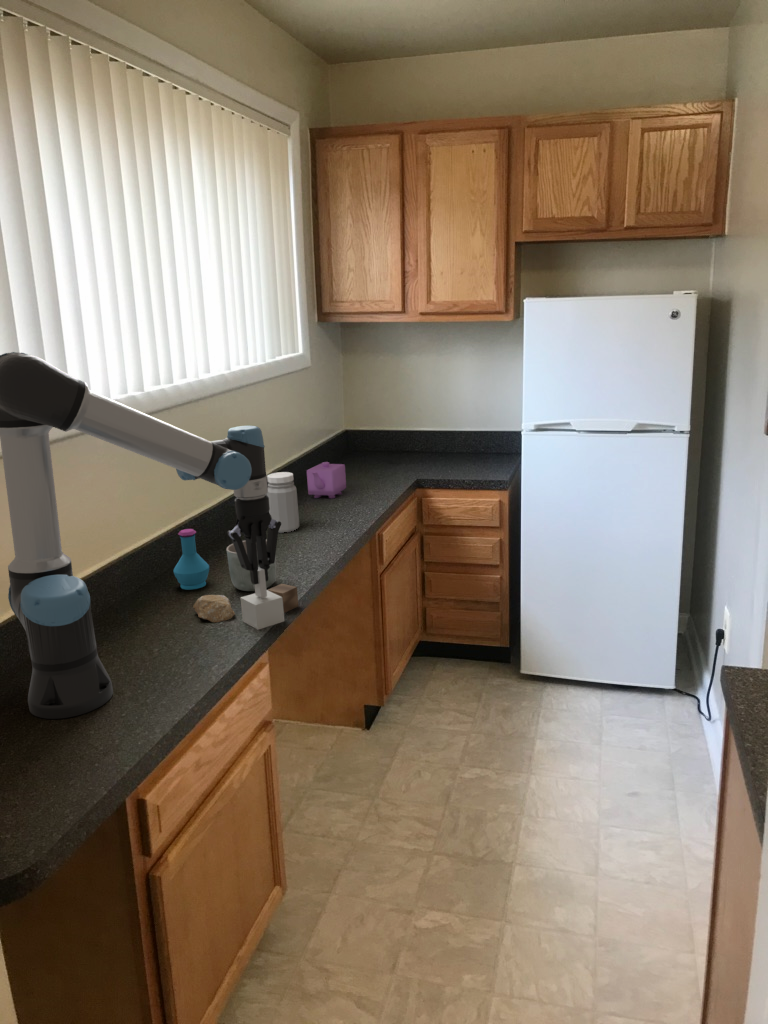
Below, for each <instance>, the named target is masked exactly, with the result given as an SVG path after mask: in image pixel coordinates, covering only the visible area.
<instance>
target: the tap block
mask: <svg viewBox="0 0 768 1024" xmlns="http://www.w3.org/2000/svg"><path fill="white" fill-rule="evenodd" d="M266 590H267V597H264V598H260V597H258V596H256V595H255V592H254V593H251V594H248V595H244V596H241V597H240V599H239V600H240V607H241V616H242V617H241V618H242V622H243V623H245V624H246V625H249V626H250V627H252V628H254V629H256V630H262V629H264V628H268V627H271V626H274V625H277V624H280V623H284V622H285V613H284V610H283V599H282V597H281V596H279V595H277V594H274V593H272V592H270V591H268V589H266Z"/></svg>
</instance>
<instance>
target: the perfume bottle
mask: <svg viewBox="0 0 768 1024" xmlns="http://www.w3.org/2000/svg"><path fill="white" fill-rule="evenodd" d="M196 534H197V531H196V530H194V528H185V529H181V530H180V531H179V532H177V535H179V539H180V543H181V544H180V545H181V550H182V551H181V553H182V554H181V557H180V558H179V560H178V562H177V563H176V565H175V566H174V568H173V575H174V577H175V578H176V579H177V582H178V584H180V588H181V589H182V590H186V591H187V590H188V591H190V590H191V591H192V590H198V589H201V588H203V587H205V586H206V585H207V582H206V580H207V579H208V576H209V572H210V564H208V563H207V561H205V560H204V558H203V557H201V556H200V554H199V553H197V547H196Z"/></svg>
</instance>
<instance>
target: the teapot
mask: <svg viewBox="0 0 768 1024" xmlns="http://www.w3.org/2000/svg"><path fill="white" fill-rule="evenodd" d="M306 479H307V482H306V483H307V491H308V494H307V495H309V496H313V498H314V499H317V498H318V499H319V498H321V497H322V496H328V499H336V495H337V496H338V495H339V496H340V495H342V494H343V493H342V492H343V491H345V489H347V480H346V479H347V477H346V465H345V463H344V464H342V463H330V462H328V461H324V462H321V463H318V464H317V465H315V466H313V467H311V468H309V469H306Z"/></svg>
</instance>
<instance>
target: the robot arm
mask: <svg viewBox="0 0 768 1024" xmlns="http://www.w3.org/2000/svg"><path fill="white" fill-rule="evenodd" d="M52 428H55V429H58V430H60V431H62V432H66V433H67V432H68V431H69V432H70V431H71V430H75V431H79V432H81V433H84V434H86V435H89V436H91V437H94V438H97V439H98V440H101V441H104V442H107V443H109V444H112V445H114V446H117V447H119V448H122V449H125V450H128V451H129V452H133V453H135V454H138V455H139V456H143V457H145V458H148V459H151V460H153V461H155V462H158V463H160V464H163V465H166V466H168V467H171V468H174V469H175V470H176V473H177V475H178V477H179V478H180V479H181V480H182V481H192V480H193V481H196V480H199V479H201V480H203V481H206V482H208V483H211V484H214V485H216V486H219V487H220V488H222V489H225V490H230V491H231V490H232V491H233V496H234V497H235V498H234V507H235V508H234V509H235V514H236V521H235V526H234V527H233V529H232V530H227V532H226V534H227V536H228V538H230V539H231V541H232V544H234V547H235V550H236V553H237V556H238V559H239V562H240V564H241V567H242V568H244V569H246V570H250V577H251V582H252V583H253V584H254V586H255V591H254V593H255V595H256V596H258V597H260V598H264V597H267V590H268V589H267V588H266V581H268V569H269V568H270V566H269V565H270V564H273V563H274V562H275V555H276V553H277V545H278V536H279V533H278V531H279V529H280V526H281V522H280V521H277V520H273V519H272V517H271V515H270V513H269V510H270V507H269V497H268V496H267V493H268V487H269V486H268V480H267V470H266V467H267V466H266V456H265V454H266V453H265V447H266V446H265V444H264V436H263V432H262V429H261V428H260V427H259V426H256V425H240V426H239V425H238V426H235V427H230V428H229V429H228V430H227V436H226V437H225V438H223V439H222V438H221V439H216V440H208V439H206V438H203V437H201V436H198V435H196V434H194V433H192V432H189V431H186V430H184V429H182V428H179V427H177V426H176V425H173V424H170V423H168V422H166V421H163V420H161V419H158V418H156V417H154V416H151V415H149V414H146V413H144V412H142V411H140V410H139V409H138V410H137V409H135V408H132V407H130V406H128V405H125V404H124V403H121V402H120V401H116V400H114V399H111V398H109V397H107V396H105V395H102V394H100V393H97V392H95V391H93V390H91V389H90V388H89V386H88V383H87V382H86V381H83V380H82V379H81V380H80V379H78V378H76V377H75V376H72V375H71V374H69V373H67V372H65V371H63V370H61V369H59V368H57V367H56V366H55V365H53V364H51V363H50V362H48V361H47V360H44V359H43V358H41V357H39V356H36V355H31V354H28V353H24V352H15V351H12V352H5V353H2V354H0V446H1V447H0V448H1V456H2V462H3V463H2V465H3V469H4V471H3V472H4V478H5V486H6V487H5V488H6V494H7V502H8V511H9V519H10V528H11V534H12V541H13V549H14V550H13V551H14V558H13V560H12V561H11V562H10V563H9V564H8V565H7V570H8V579H9V587H8V595H7V597H8V598H7V599H8V603H9V607H10V609H11V611H12V612H13V614H14V615H15V616H16V617H17V619H18V620H19V622H20V624H21V625H22V627H23V629H24V630H25V634H26V637H27V638H26V639H27V645H28V651H29V655H30V661H31V666H32V668H31V669H32V671H31V672H32V673H31V678H30V683H29V687H28V688H29V689H28V695H27V704H28V709H29V712H30V714H31V715H33V716H35V717H37V718H41V719H46V720H47V719H48V720H50V719H51V720H52V719H53V720H58V719H67V718H72V717H77V716H80V715H85V714H87V713H90V712H93V711H94V710H96V709H98V708H100V707H102V706H104V705H105V704H106V703H108V701H110V700H111V698H112V697H113V695H114V689H113V683H112V678H111V677H110V675H109V674H108V672H107V670H106V668H105V666H104V664H103V662H102V661H101V659H100V657H99V655H98V647H97V641H96V634H95V627H94V622H93V621H94V620H93V614H92V608H91V607H92V606H91V596H90V595H91V594H90V593H89V591H88V587H87V584H86V582H85V581H84V580H82V579H81V578H79V577H78V576H75V575H74V574H73V573H74V572H73V566H72V558H71V557H70V556H69V555H67V554H66V553H64V552H63V550H62V549H63V548H62V542H61V541H62V539H61V531H60V523H59V514H58V505H57V497H56V487H55V479H54V477H55V476H54V468H53V462H52V453H51V452H52V451H51V443H50V434H49V433H50V431H51V430H52ZM242 534H243V537H244V541H246V548H247V553H246V550H245V548H244V545H243V542H242V541H243V540H242V538H241V536H242ZM266 540H267V544H266ZM256 547H257V549H256ZM257 556H258V559H257ZM258 565H259V566H260V567H258Z"/></svg>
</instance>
